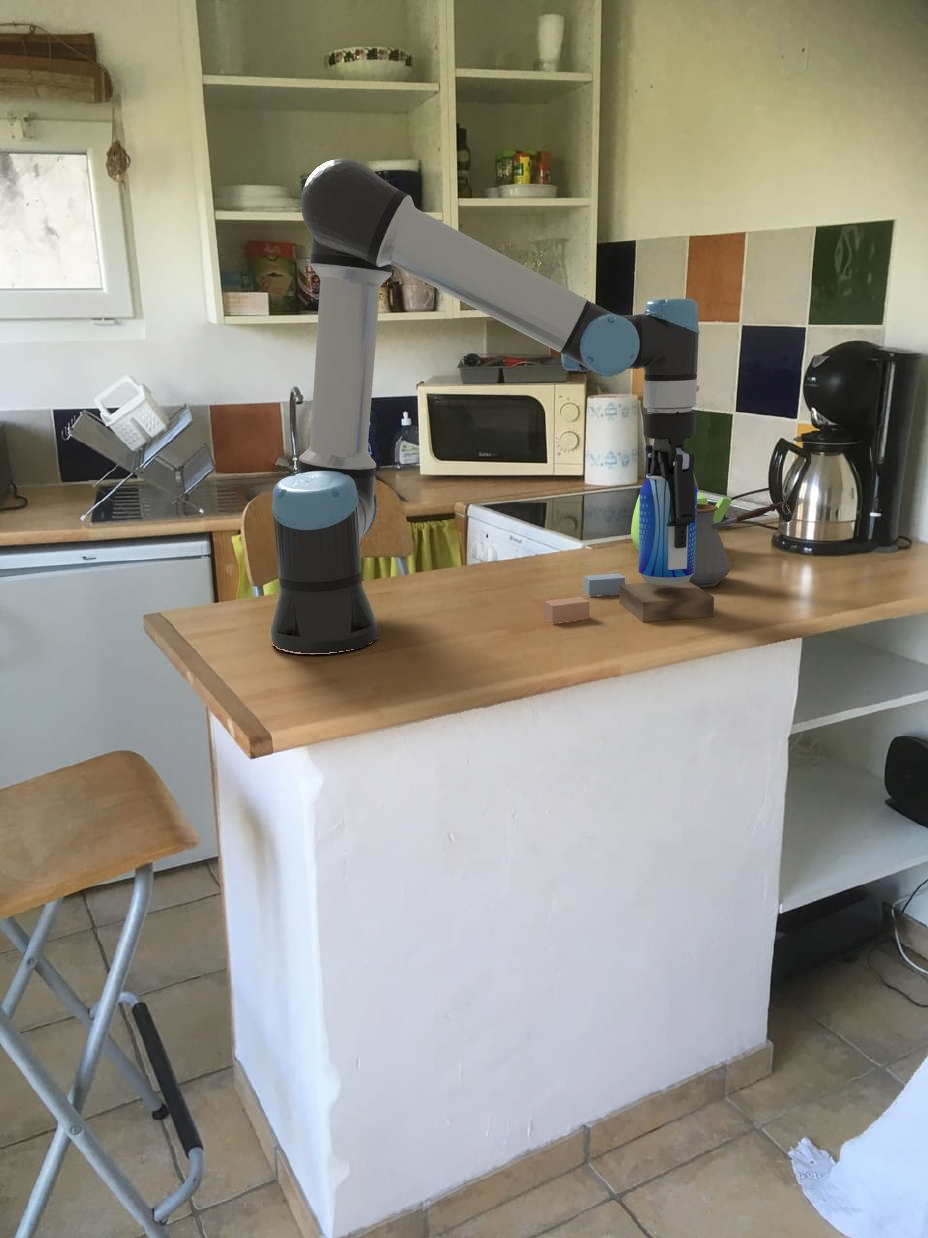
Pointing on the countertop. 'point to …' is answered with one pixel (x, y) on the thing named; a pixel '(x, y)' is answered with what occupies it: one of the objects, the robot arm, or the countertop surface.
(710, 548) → the coffee pot
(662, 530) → the beer can
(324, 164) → the robot arm
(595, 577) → the greyblue brick
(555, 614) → the terracotta brick
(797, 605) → the countertop surface
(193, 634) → the countertop surface
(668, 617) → the walnut slab
